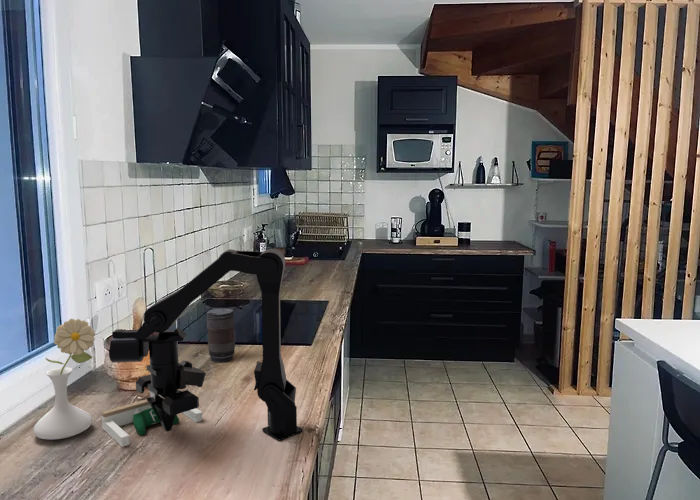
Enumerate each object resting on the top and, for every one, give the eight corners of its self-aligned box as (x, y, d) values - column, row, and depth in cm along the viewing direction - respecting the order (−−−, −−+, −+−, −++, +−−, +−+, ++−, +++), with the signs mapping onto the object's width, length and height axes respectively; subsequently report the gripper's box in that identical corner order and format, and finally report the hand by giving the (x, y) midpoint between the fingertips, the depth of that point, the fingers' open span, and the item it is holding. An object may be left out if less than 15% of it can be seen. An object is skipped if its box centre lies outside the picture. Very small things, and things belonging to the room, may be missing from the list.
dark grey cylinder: (221, 353, 171) (219, 306, 169) (240, 357, 167) (239, 309, 165) (202, 360, 164) (200, 312, 162) (222, 365, 160) (220, 315, 158)
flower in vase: (30, 449, 110) (20, 330, 107) (37, 426, 120) (28, 316, 117) (100, 437, 115) (93, 323, 112) (101, 416, 125) (94, 310, 122)
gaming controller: (175, 428, 124) (166, 405, 126) (180, 420, 121) (171, 397, 124) (136, 441, 117) (126, 417, 120) (140, 434, 115) (131, 409, 117)
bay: (202, 420, 123) (201, 404, 123) (122, 446, 111) (121, 429, 110) (179, 405, 131) (178, 390, 131) (102, 428, 119) (101, 411, 119)
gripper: (220, 362, 112) (223, 433, 115) (180, 342, 126) (184, 406, 128) (169, 375, 105) (173, 451, 107) (132, 353, 119) (137, 421, 121)
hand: (168, 430), depth 116 cm, fingers closed
